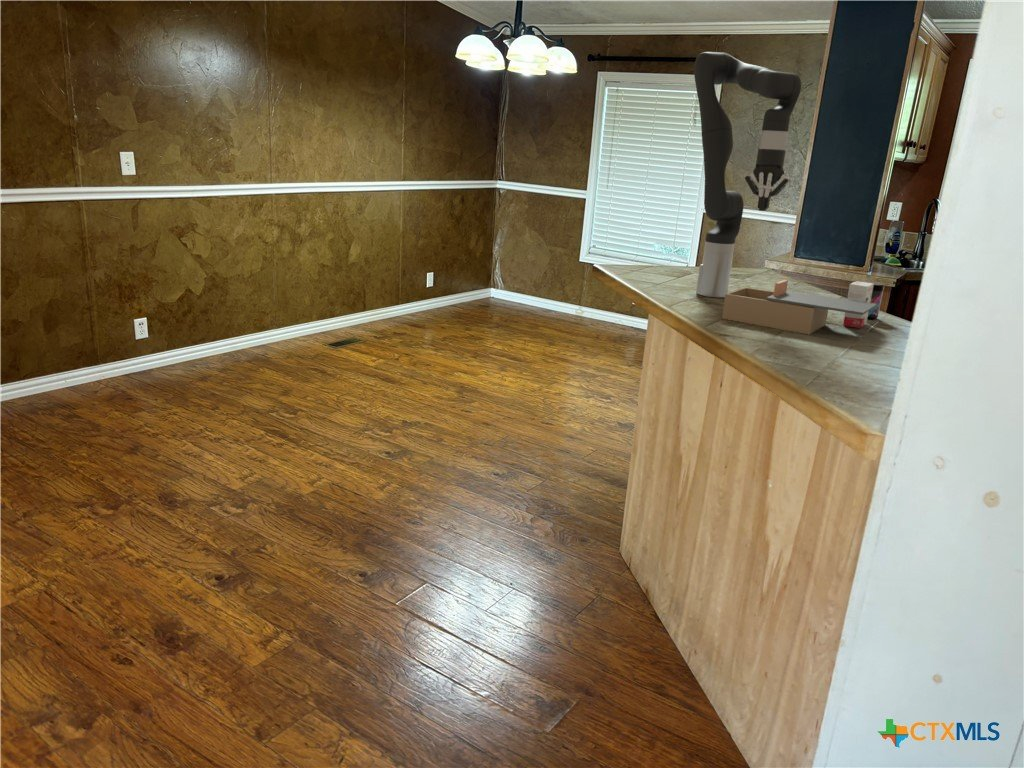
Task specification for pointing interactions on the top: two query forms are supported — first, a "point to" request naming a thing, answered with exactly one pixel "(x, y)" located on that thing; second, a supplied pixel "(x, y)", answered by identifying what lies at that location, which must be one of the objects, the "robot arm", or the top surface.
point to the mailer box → (771, 311)
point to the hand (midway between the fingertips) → (762, 210)
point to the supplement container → (875, 299)
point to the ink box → (858, 293)
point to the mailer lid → (818, 300)
